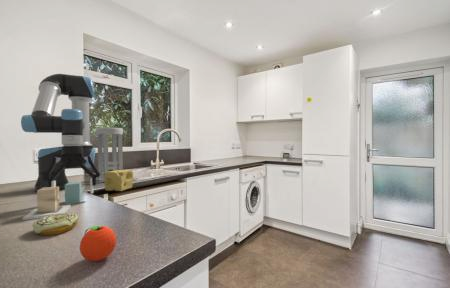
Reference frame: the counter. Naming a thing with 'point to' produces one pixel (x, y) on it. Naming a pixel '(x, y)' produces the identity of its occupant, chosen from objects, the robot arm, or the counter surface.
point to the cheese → (118, 180)
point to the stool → (104, 162)
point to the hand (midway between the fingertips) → (73, 194)
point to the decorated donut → (55, 224)
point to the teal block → (73, 193)
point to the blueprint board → (35, 214)
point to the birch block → (48, 199)
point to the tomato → (97, 243)
